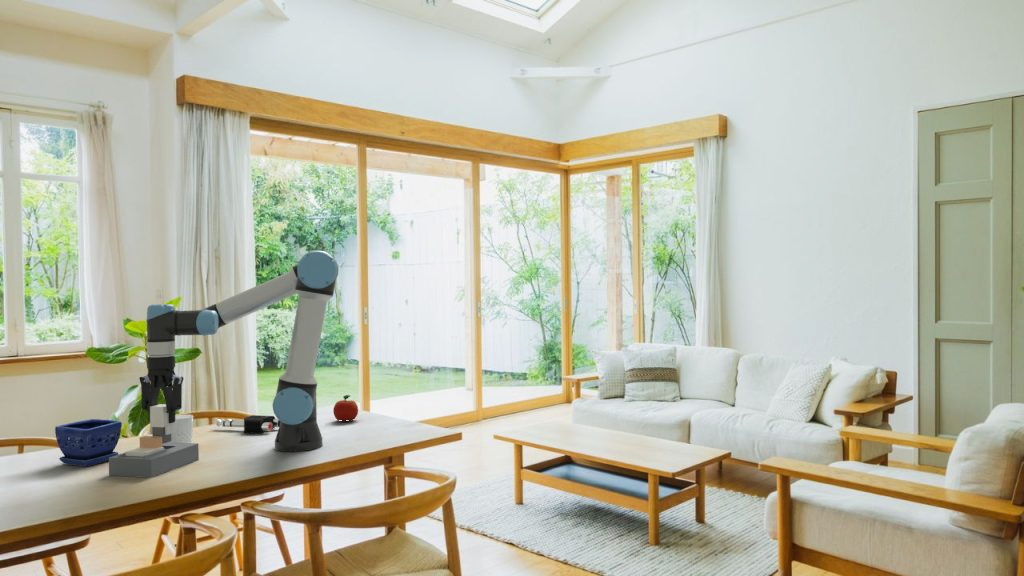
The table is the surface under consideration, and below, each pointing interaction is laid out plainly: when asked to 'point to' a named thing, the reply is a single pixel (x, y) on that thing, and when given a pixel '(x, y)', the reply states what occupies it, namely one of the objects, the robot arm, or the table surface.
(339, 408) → the fruit
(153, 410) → the plug
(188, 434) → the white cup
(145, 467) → the socket
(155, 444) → the tan and grey block
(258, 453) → the table surface
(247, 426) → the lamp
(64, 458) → the flower pot
